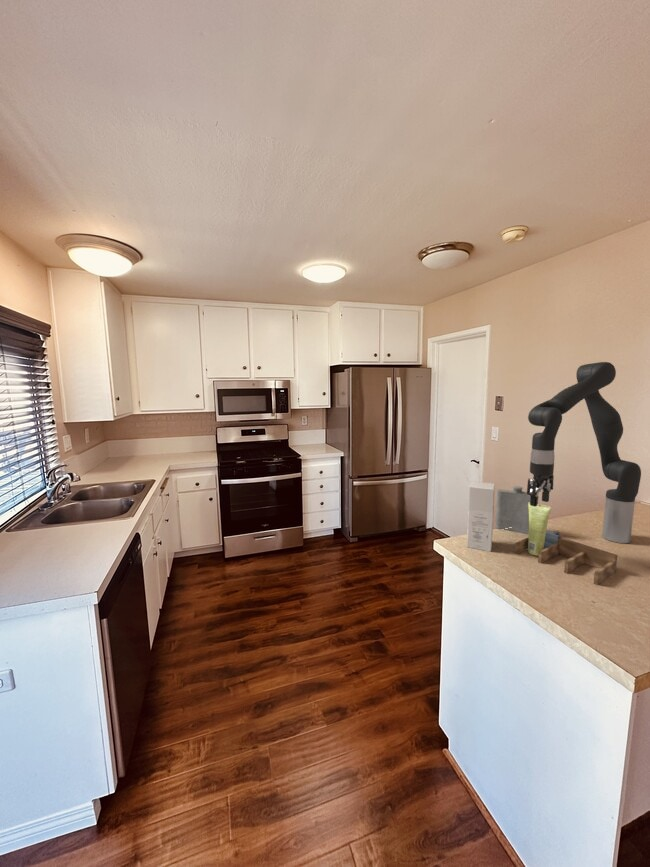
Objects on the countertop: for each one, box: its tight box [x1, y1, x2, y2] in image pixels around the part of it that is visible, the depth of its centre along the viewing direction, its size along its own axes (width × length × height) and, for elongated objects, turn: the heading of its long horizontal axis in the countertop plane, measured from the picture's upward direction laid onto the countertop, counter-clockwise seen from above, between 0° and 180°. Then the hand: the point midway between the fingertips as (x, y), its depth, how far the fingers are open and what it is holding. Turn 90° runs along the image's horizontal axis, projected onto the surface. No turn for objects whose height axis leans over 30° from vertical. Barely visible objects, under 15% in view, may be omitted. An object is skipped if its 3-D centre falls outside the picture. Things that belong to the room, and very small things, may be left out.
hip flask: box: [494, 485, 539, 536], centre depth 155 cm, size 16×4×20 cm, turn 56°
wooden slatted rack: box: [514, 529, 618, 586], centre depth 128 cm, size 15×27×8 cm, turn 33°
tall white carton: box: [466, 481, 496, 552], centre depth 141 cm, size 9×9×25 cm
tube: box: [527, 502, 552, 557], centre depth 134 cm, size 6×5×20 cm
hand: (539, 503), depth 132 cm, fingers open, 8 cm apart
